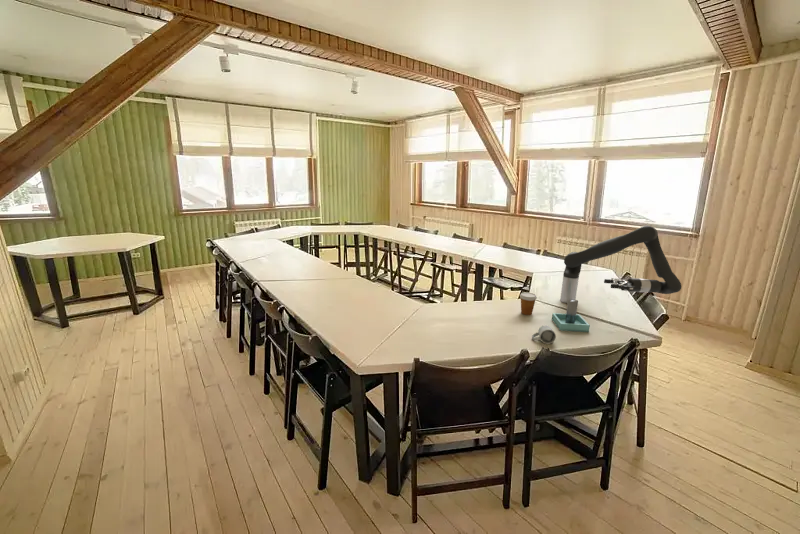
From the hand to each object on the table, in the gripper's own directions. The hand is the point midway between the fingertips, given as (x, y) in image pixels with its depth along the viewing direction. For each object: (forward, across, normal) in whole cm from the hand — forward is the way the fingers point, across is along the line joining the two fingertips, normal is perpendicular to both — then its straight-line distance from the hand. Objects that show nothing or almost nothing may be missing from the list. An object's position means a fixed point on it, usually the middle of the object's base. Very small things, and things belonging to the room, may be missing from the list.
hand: (607, 283), depth 199 cm
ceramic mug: (+39, +28, +24) cm, 53 cm away
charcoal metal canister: (+19, +7, +23) cm, 31 cm away
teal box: (+19, +7, +24) cm, 31 cm away
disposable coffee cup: (+39, -8, +24) cm, 47 cm away
